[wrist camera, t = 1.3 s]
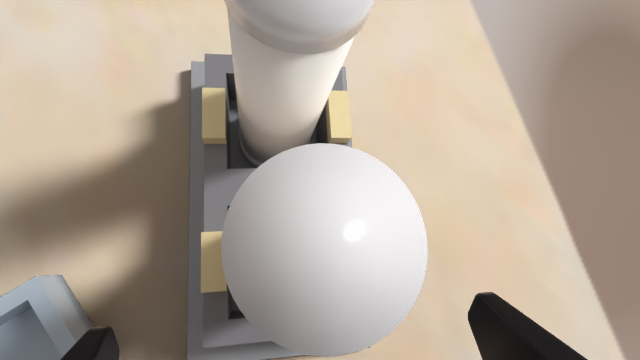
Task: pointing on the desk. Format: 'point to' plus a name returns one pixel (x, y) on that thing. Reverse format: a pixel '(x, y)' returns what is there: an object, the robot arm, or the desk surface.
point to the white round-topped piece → (324, 249)
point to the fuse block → (214, 201)
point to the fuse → (287, 67)
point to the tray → (40, 320)
